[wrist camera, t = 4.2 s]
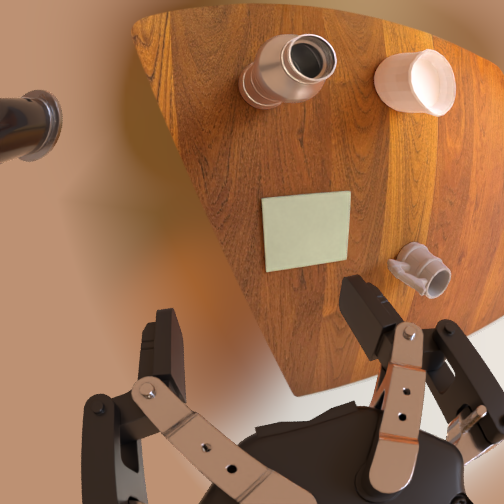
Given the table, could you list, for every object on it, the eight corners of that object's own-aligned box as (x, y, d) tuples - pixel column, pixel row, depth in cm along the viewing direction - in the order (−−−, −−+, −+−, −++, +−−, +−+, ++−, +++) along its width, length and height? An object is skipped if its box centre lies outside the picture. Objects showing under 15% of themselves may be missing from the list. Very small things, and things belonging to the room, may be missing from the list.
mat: (265, 270, 46) (266, 272, 45) (261, 198, 40) (261, 199, 40) (345, 258, 47) (346, 259, 47) (349, 190, 42) (350, 191, 41)
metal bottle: (238, 112, 34) (271, 103, 17) (233, 65, 31) (261, 14, 14) (285, 108, 35) (358, 103, 17) (281, 63, 32) (349, 21, 14)
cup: (368, 103, 36) (407, 104, 27) (373, 46, 31) (411, 36, 23) (413, 118, 37) (454, 125, 29) (418, 66, 33) (458, 63, 24)
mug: (416, 274, 52) (450, 306, 41) (373, 275, 50) (407, 313, 39) (427, 240, 49) (466, 270, 38) (383, 238, 47) (423, 272, 36)
